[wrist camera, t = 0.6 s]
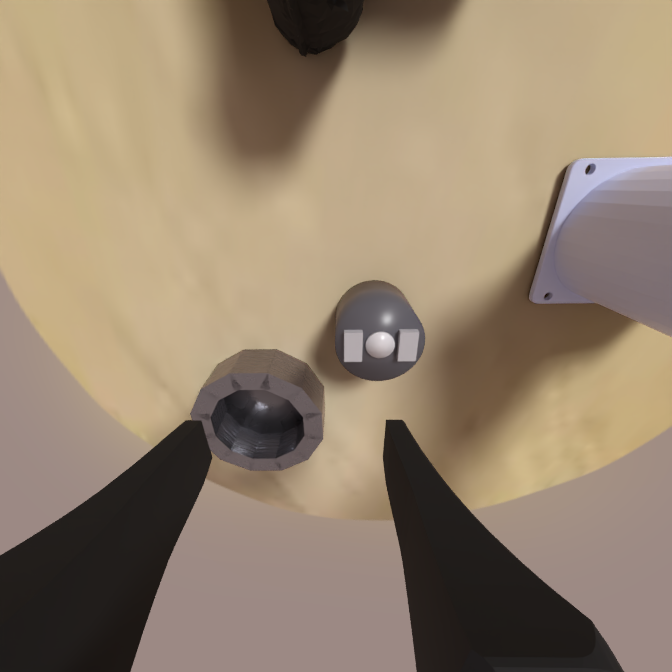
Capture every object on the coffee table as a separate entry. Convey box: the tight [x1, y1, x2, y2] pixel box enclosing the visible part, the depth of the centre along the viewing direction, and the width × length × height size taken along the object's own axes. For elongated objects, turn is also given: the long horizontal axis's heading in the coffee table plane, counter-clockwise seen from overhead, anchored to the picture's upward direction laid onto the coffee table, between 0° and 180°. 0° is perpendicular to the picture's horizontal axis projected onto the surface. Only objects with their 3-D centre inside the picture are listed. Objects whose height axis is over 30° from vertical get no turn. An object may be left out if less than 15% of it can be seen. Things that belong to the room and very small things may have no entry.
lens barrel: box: [190, 349, 325, 470], centre depth 22 cm, size 9×9×3 cm
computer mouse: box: [335, 280, 425, 381], centre depth 18 cm, size 5×5×4 cm
